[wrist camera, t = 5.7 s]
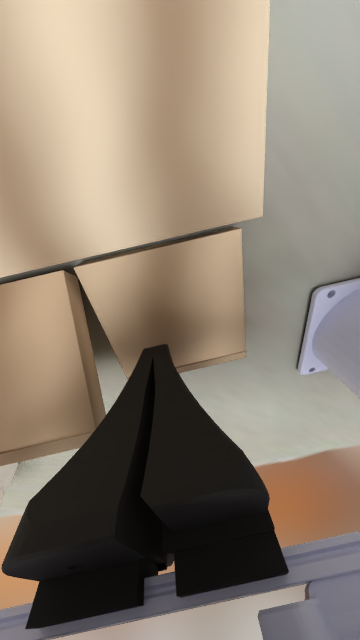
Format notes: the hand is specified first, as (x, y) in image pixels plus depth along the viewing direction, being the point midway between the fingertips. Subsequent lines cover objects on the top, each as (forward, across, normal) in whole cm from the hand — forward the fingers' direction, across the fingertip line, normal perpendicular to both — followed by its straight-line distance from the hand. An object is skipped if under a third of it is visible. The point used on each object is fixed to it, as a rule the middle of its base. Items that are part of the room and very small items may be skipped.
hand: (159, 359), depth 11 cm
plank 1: (0, +7, -2) cm, 7 cm away
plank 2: (+2, -1, -1) cm, 3 cm away
